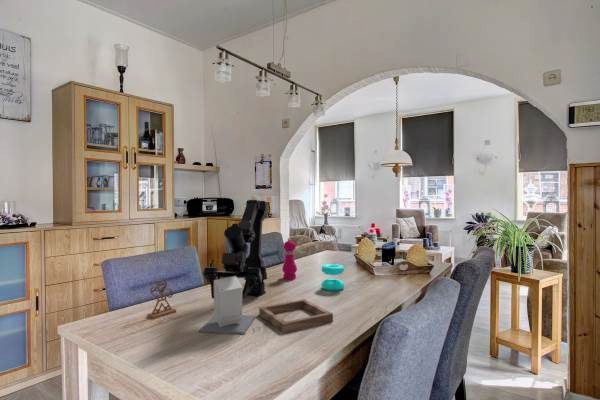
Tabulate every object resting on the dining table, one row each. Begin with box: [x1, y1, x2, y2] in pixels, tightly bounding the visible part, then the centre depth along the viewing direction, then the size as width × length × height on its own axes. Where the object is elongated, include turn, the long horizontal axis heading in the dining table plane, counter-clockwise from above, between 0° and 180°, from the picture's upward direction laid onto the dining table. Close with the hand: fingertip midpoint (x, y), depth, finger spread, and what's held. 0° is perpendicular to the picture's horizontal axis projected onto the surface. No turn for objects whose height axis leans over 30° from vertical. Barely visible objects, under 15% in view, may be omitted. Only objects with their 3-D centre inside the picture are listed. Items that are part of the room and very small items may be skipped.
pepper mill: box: [281, 237, 298, 280], centre depth 169 cm, size 7×7×20 cm
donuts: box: [321, 263, 345, 291], centre depth 151 cm, size 10×10×10 cm
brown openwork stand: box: [146, 279, 177, 320], centre depth 118 cm, size 9×4×12 cm, turn 143°
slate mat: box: [198, 314, 257, 335], centre depth 108 cm, size 14×14×1 cm
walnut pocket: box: [258, 298, 334, 334], centre depth 114 cm, size 18×18×2 cm
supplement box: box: [213, 276, 244, 327], centre depth 107 cm, size 7×7×13 cm
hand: (227, 298), depth 107 cm, fingers closed on supplement box, 9 cm apart
